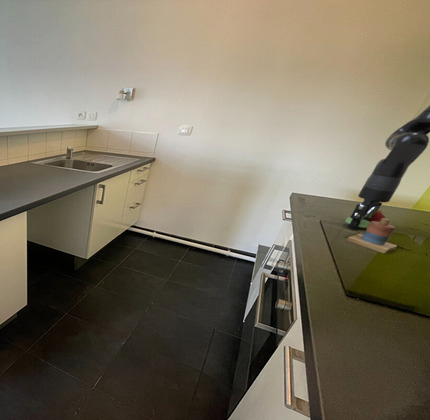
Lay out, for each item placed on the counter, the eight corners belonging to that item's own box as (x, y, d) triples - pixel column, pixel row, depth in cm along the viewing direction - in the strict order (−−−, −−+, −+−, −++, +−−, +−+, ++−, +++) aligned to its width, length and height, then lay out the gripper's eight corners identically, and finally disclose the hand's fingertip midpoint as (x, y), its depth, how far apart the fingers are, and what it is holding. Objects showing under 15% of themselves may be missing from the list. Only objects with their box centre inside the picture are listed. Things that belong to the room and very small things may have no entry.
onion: (366, 230, 98) (377, 211, 95) (353, 224, 103) (363, 206, 100) (384, 232, 96) (395, 213, 93) (370, 226, 102) (381, 208, 99)
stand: (357, 237, 91) (372, 212, 87) (395, 249, 83) (413, 223, 80) (346, 240, 88) (360, 215, 84) (384, 253, 80) (402, 226, 76)
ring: (349, 219, 100) (351, 216, 100) (373, 226, 95) (376, 223, 94) (342, 221, 98) (344, 218, 97) (366, 229, 92) (368, 225, 92)
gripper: (387, 191, 85) (361, 234, 91) (403, 189, 90) (377, 229, 96) (356, 185, 91) (334, 225, 97) (372, 183, 96) (351, 221, 103)
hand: (356, 227), depth 97 cm, fingers closed on ring, 6 cm apart
